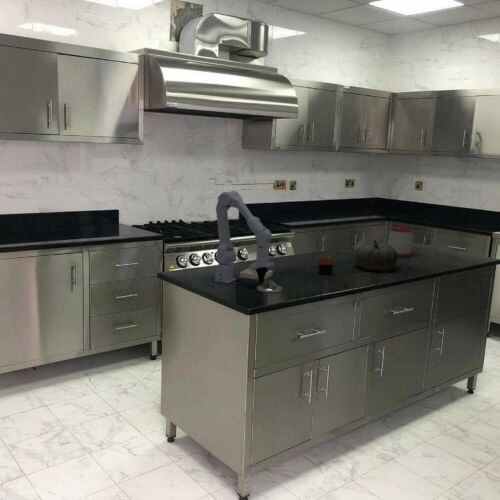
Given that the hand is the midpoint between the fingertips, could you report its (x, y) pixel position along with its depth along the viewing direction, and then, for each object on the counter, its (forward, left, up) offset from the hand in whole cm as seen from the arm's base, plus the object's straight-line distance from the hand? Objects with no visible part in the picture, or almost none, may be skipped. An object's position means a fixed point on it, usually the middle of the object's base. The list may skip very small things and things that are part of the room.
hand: (261, 282), depth 260 cm
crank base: (-2, -5, -2) cm, 6 cm away
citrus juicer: (+119, -49, -2) cm, 129 cm away
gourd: (+71, -41, -2) cm, 82 cm away
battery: (+42, -20, -2) cm, 47 cm away
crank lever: (0, -3, -1) cm, 3 cm away
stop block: (+18, +10, -1) cm, 20 cm away
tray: (+18, +10, -2) cm, 20 cm away
